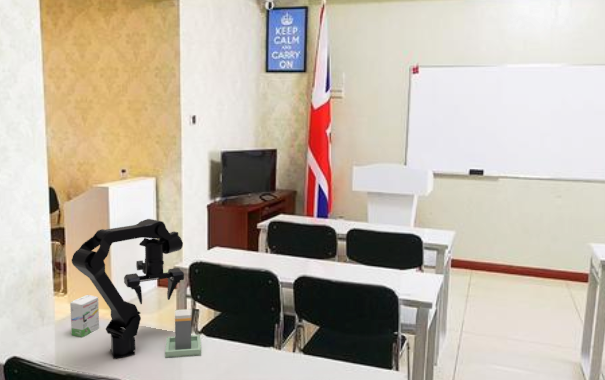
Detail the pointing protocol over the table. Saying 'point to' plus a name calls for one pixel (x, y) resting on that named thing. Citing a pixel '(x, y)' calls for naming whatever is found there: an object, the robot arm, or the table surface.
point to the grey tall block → (182, 329)
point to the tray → (193, 351)
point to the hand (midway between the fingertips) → (154, 301)
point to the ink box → (84, 315)
